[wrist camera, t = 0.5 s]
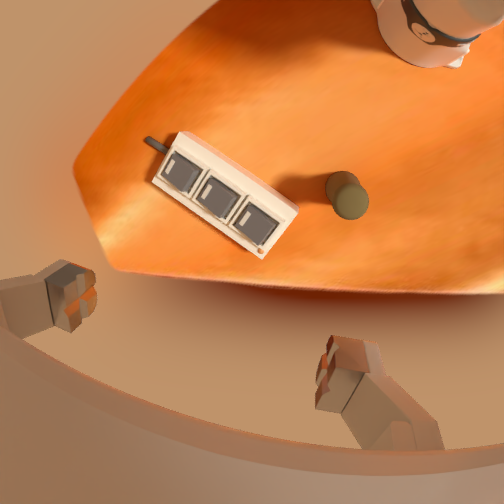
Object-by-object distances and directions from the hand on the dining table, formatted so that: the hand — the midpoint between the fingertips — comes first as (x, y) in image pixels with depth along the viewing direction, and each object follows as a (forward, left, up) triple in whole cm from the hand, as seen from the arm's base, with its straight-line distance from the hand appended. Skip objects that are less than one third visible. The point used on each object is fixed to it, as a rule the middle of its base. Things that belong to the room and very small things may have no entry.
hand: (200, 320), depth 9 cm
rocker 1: (+9, -14, -37) cm, 41 cm away
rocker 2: (+9, -6, -37) cm, 39 cm away
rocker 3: (+9, +1, -37) cm, 38 cm away
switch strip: (+9, -9, -43) cm, 45 cm away
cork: (-3, +9, -43) cm, 44 cm away
